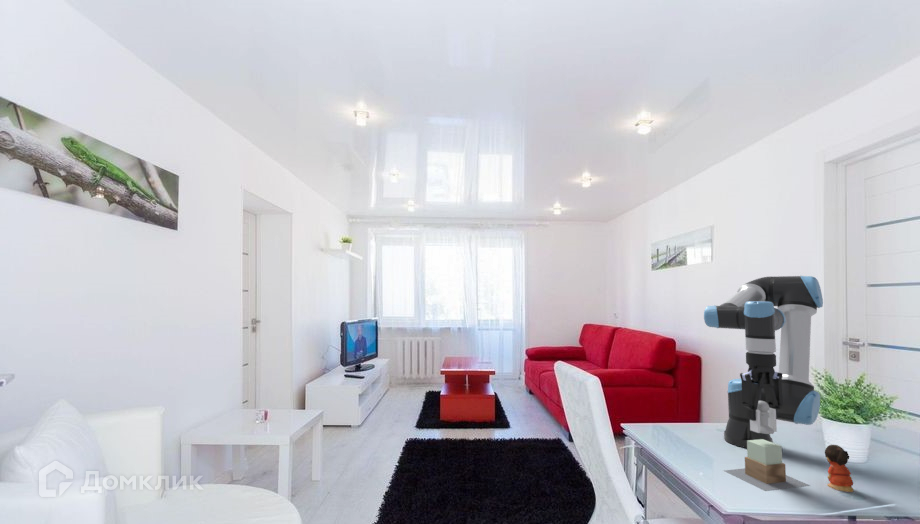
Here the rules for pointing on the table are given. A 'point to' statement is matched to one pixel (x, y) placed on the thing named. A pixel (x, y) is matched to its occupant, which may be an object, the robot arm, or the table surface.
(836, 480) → the figurine
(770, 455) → the block top
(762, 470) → the block bottom
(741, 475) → the mat
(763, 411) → the chess piece
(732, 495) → the table surface
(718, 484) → the table surface
